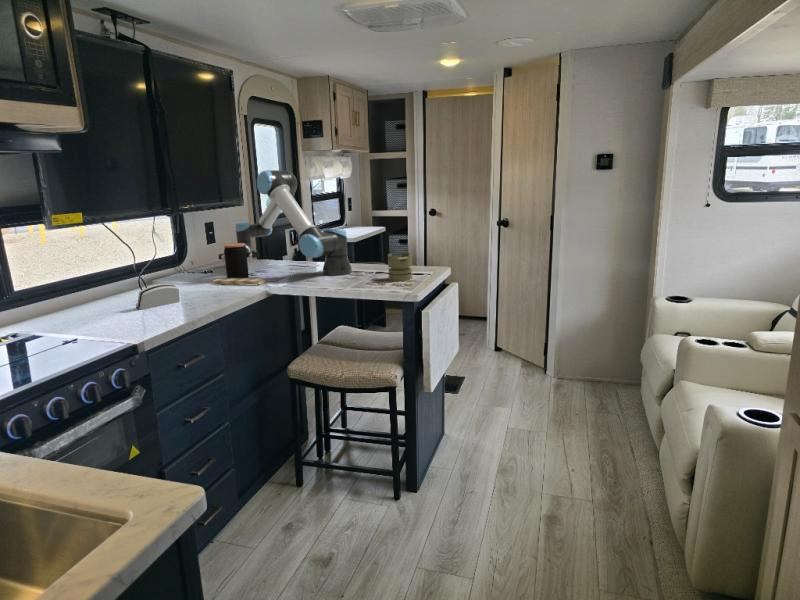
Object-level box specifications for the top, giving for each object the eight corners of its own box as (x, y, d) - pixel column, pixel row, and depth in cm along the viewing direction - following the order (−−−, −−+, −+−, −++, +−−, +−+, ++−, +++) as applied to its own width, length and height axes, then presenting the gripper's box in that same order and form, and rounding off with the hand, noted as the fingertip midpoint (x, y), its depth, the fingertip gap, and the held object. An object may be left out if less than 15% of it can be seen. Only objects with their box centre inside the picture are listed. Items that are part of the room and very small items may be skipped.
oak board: (265, 282, 258) (264, 278, 258) (258, 285, 252) (258, 280, 251) (220, 281, 263) (220, 277, 263) (213, 284, 257) (212, 280, 256)
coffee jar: (252, 277, 273) (248, 242, 268) (244, 281, 262) (240, 245, 258) (232, 277, 274) (228, 243, 270) (223, 281, 263) (219, 245, 259)
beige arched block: (174, 300, 226) (175, 279, 222) (180, 305, 224) (181, 284, 219) (134, 308, 214) (135, 286, 209) (140, 313, 211) (141, 291, 207)
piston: (385, 253, 257) (407, 252, 260) (386, 278, 259) (407, 276, 263) (391, 256, 246) (414, 255, 249) (392, 282, 249) (415, 279, 252)
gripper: (266, 257, 291) (262, 264, 271) (219, 260, 288) (211, 266, 267) (265, 244, 289) (260, 249, 269) (217, 246, 286) (209, 252, 266)
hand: (236, 258), depth 268 cm, fingers open, 13 cm apart
